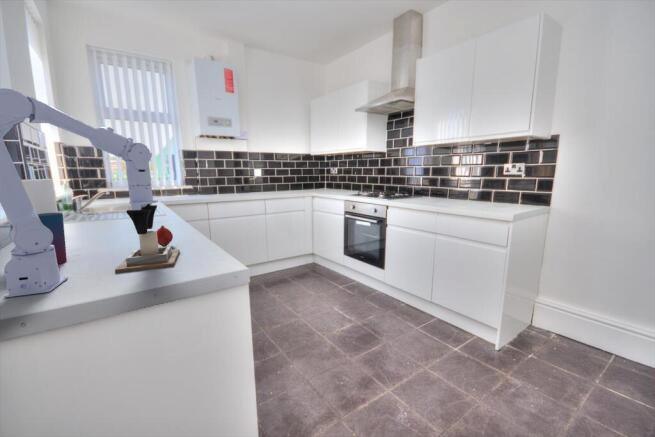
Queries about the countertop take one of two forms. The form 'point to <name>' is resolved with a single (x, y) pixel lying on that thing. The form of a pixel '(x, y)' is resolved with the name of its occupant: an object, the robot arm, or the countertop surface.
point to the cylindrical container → (41, 195)
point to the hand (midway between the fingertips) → (145, 231)
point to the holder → (148, 260)
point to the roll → (149, 243)
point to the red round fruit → (164, 236)
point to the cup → (56, 233)
